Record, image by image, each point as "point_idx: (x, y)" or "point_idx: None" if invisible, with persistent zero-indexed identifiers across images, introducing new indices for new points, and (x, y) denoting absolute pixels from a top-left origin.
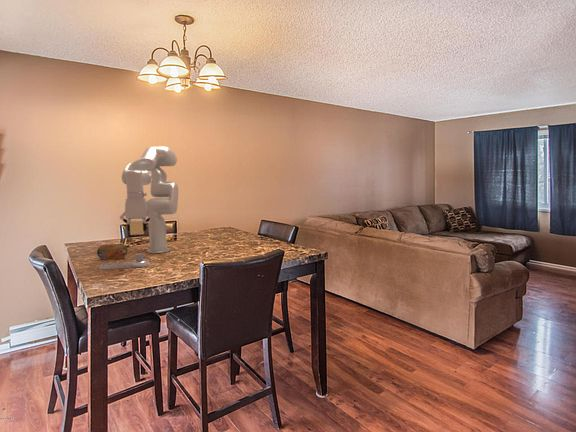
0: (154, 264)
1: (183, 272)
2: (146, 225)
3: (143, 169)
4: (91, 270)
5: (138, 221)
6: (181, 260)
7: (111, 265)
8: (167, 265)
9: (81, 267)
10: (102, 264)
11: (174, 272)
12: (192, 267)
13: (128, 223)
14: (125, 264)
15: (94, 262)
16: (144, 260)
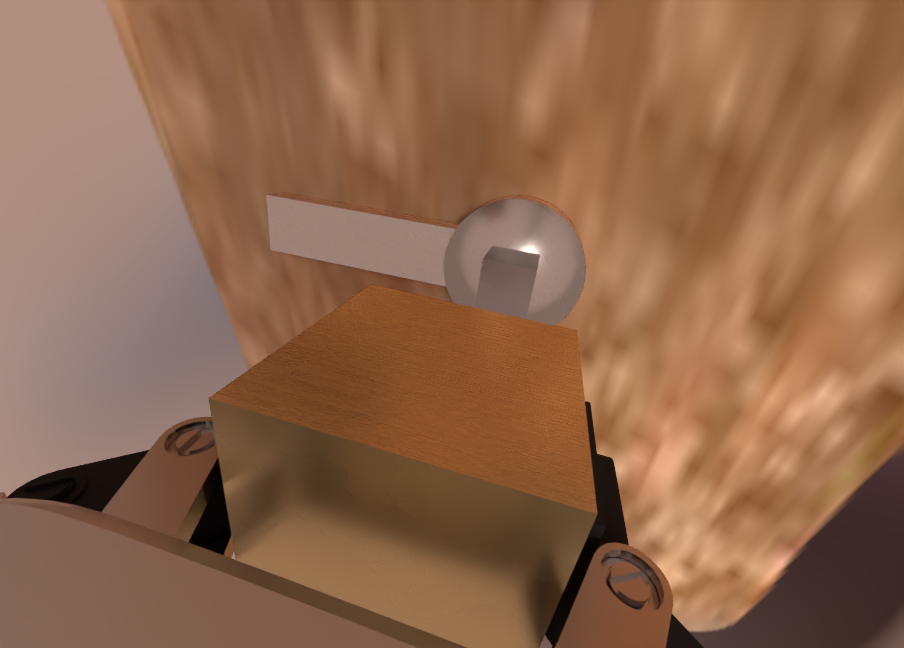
0: (619, 282)
1: (712, 545)
2: (621, 521)
3: None
4: (248, 238)
5: (415, 571)
6: (892, 258)
7: (337, 262)
8: (695, 359)
9: (170, 121)
10: (280, 221)
11: (666, 519)
12: (825, 494)
13: (226, 528)
14: (418, 279)
15: None
16: (548, 278)
